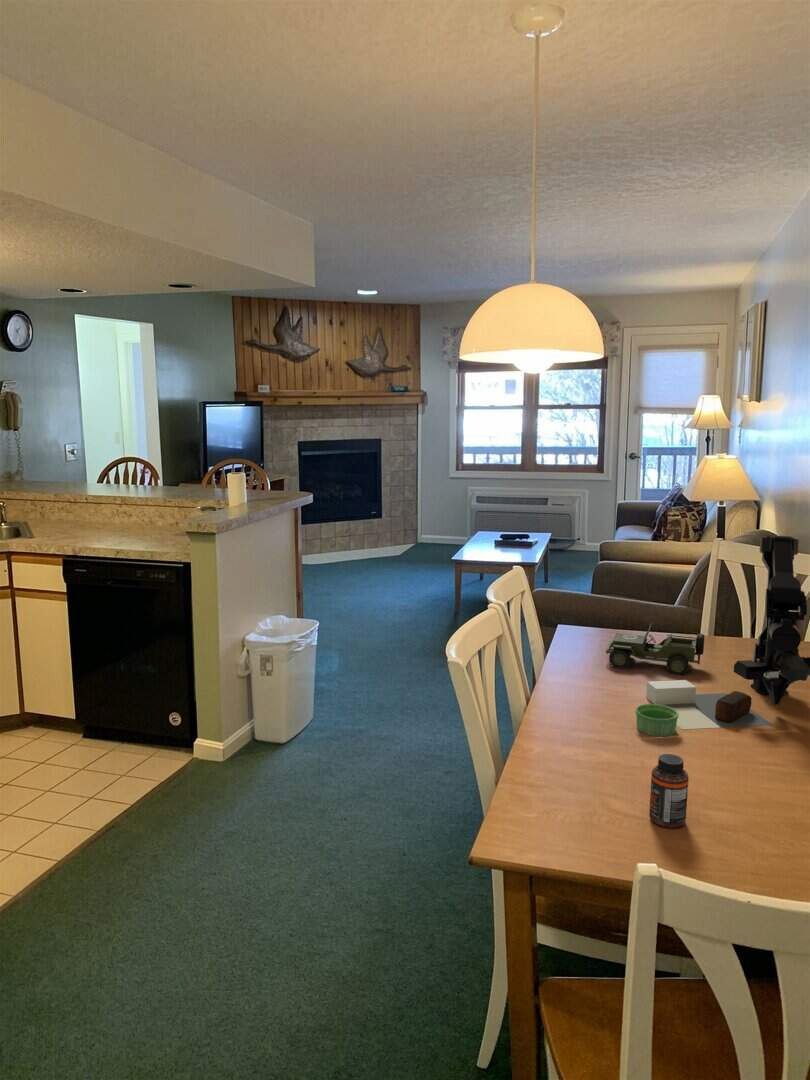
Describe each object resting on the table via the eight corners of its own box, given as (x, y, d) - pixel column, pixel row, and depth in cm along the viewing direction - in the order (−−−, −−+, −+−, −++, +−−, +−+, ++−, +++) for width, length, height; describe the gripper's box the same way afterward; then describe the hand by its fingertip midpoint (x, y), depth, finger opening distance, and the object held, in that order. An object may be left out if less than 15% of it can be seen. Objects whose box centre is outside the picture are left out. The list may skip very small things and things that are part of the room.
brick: (731, 724, 174) (733, 704, 173) (714, 719, 176) (715, 699, 176) (751, 712, 181) (752, 692, 180) (734, 707, 184) (735, 688, 183)
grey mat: (726, 693, 193) (726, 692, 193) (773, 725, 174) (773, 724, 174) (643, 697, 191) (643, 696, 190) (681, 730, 171) (681, 729, 171)
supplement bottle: (643, 812, 136) (646, 751, 134) (676, 811, 136) (680, 750, 135) (657, 830, 130) (661, 766, 128) (691, 829, 130) (696, 765, 129)
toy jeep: (609, 654, 225) (611, 617, 223) (702, 665, 216) (705, 626, 214) (604, 667, 214) (605, 628, 212) (701, 679, 204) (704, 638, 203)
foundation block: (685, 695, 191) (686, 680, 191) (695, 703, 186) (696, 687, 186) (646, 697, 190) (647, 681, 189) (655, 704, 185) (656, 688, 185)
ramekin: (680, 726, 173) (681, 708, 172) (673, 741, 165) (674, 722, 165) (639, 719, 177) (640, 700, 177) (630, 733, 169) (631, 714, 169)
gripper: (762, 651, 168) (757, 719, 171) (842, 648, 170) (836, 716, 173) (734, 636, 179) (730, 701, 181) (810, 633, 181) (804, 698, 184)
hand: (775, 704), depth 180 cm, fingers closed
